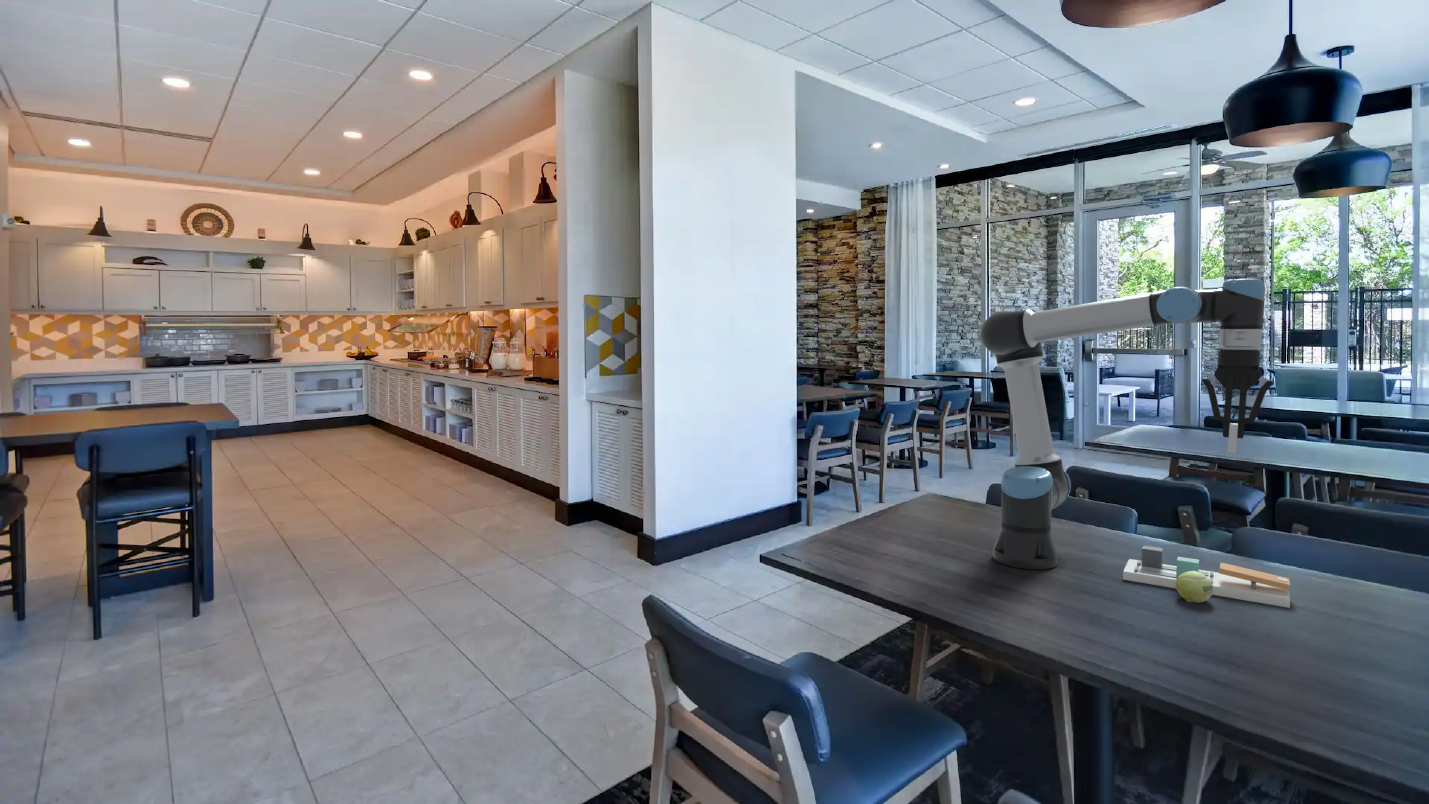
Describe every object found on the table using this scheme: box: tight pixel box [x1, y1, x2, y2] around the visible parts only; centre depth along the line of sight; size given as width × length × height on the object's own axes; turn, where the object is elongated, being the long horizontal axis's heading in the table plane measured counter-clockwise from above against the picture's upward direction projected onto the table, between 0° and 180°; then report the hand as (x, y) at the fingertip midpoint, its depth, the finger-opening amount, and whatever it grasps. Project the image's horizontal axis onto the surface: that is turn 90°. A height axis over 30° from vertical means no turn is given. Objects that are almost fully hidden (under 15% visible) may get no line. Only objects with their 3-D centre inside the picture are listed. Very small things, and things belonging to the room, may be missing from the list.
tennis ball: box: [1175, 571, 1213, 604], centre depth 147 cm, size 6×7×7 cm
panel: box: [1122, 558, 1291, 609], centre depth 155 cm, size 30×11×3 cm, turn 53°
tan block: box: [1218, 562, 1291, 591], centre depth 149 cm, size 12×5×1 cm, turn 53°
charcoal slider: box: [1141, 545, 1164, 568], centre depth 163 cm, size 4×3×4 cm
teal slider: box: [1176, 556, 1200, 577], centre depth 154 cm, size 4×3×4 cm
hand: (1231, 451), depth 156 cm, fingers closed
